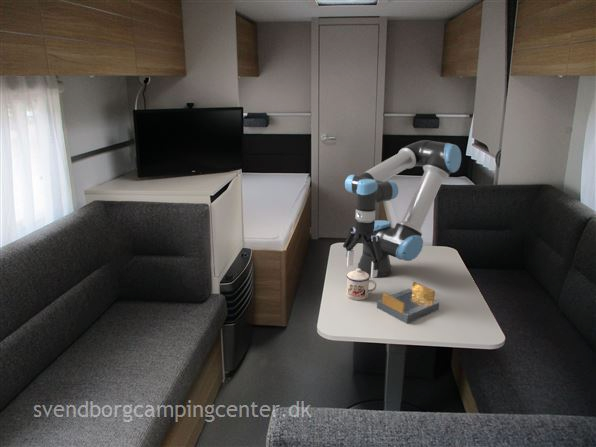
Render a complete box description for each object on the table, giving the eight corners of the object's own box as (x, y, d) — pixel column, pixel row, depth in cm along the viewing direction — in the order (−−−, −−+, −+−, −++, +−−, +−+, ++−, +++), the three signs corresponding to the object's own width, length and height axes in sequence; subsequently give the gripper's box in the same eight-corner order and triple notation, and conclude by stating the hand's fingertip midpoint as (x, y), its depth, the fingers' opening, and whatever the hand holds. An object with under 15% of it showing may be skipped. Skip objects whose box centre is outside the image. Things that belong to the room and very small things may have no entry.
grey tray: (376, 307, 193) (378, 291, 191) (408, 295, 204) (409, 279, 202) (406, 323, 182) (408, 306, 180) (438, 309, 193) (440, 293, 190)
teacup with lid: (344, 299, 200) (345, 272, 196) (347, 289, 208) (348, 263, 205) (375, 302, 198) (376, 275, 194) (376, 292, 206) (378, 266, 202)
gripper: (336, 213, 200) (333, 263, 206) (381, 230, 181) (377, 284, 188) (350, 210, 204) (347, 259, 211) (396, 226, 186) (391, 279, 192)
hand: (361, 271), depth 199 cm, fingers open, 13 cm apart
